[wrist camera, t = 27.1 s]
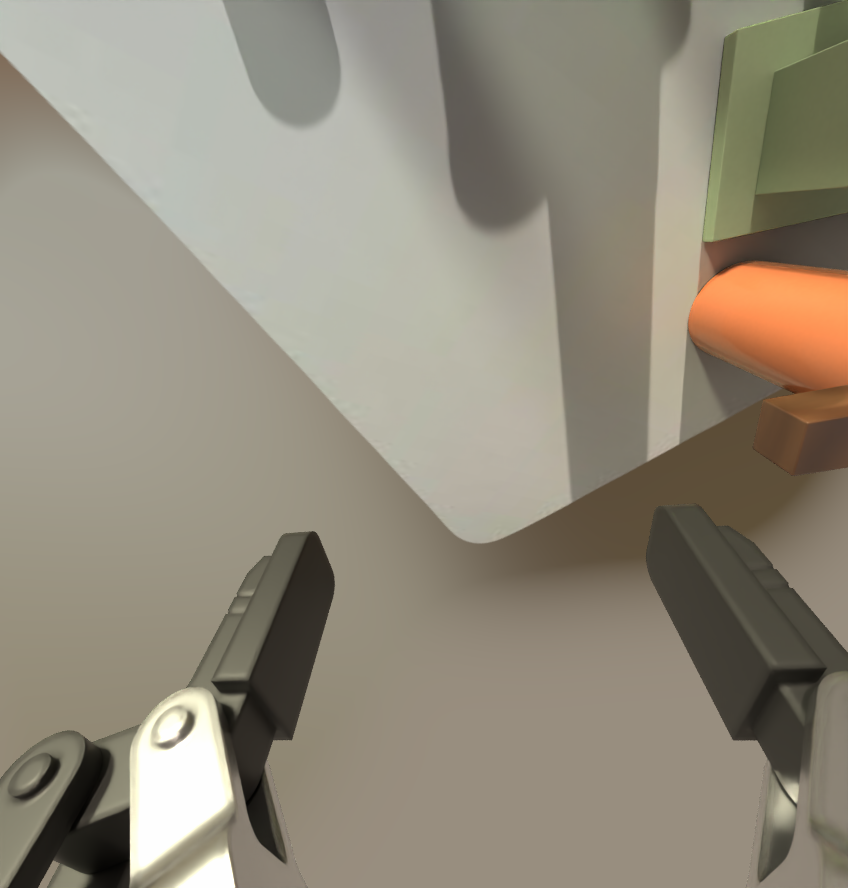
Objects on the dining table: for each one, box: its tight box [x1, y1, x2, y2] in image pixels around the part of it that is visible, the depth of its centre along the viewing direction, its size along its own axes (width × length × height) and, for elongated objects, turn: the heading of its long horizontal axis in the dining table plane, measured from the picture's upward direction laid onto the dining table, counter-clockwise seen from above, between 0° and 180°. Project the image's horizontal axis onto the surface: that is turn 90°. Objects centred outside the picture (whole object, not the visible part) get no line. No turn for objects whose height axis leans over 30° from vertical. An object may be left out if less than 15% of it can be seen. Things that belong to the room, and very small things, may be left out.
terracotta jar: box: [688, 260, 848, 394], centre depth 31 cm, size 9×9×20 cm
